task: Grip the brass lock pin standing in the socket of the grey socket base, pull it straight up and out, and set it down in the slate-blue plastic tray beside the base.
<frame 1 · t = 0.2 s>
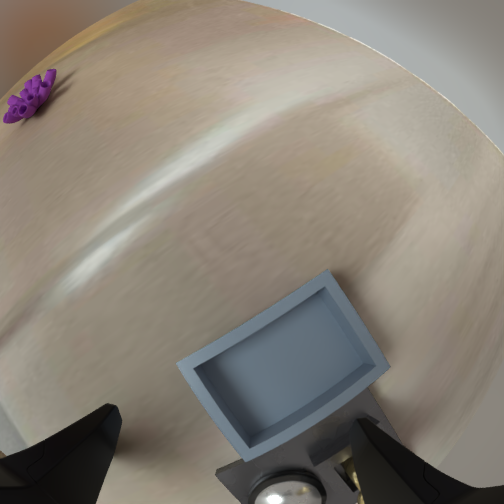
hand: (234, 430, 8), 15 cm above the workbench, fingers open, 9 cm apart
lock pin: (355, 457, 18), point 1 cm above the workbench, touching grey socket base
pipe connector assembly: (38, 108, 35), on the workbench
grey socket base: (321, 472, 19), on the workbench
pin tray: (283, 366, 22), on the workbench
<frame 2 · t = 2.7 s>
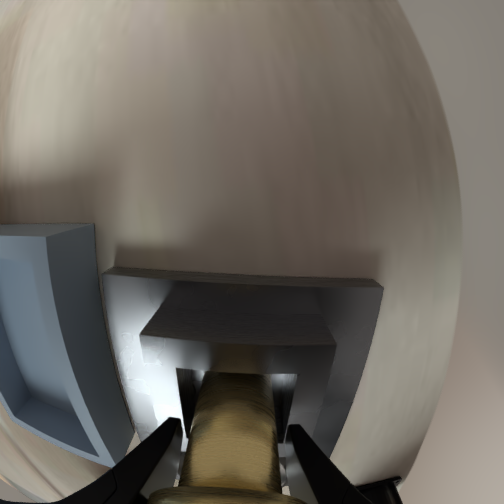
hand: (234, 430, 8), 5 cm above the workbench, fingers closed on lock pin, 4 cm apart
lock pin: (237, 376, 11), point 1 cm above the workbench, touching gripper, grey socket base
grey socket base: (237, 409, 13), on the workbench
pin tray: (47, 337, 12), on the workbench
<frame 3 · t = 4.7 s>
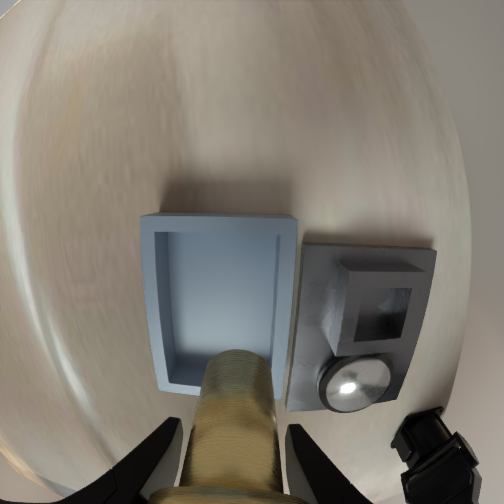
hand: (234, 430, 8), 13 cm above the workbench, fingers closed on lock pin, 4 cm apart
lock pin: (238, 376, 11), point 10 cm above the workbench, touching gripper
grey socket base: (359, 334, 22), on the workbench
pin tray: (221, 301, 21), on the workbench
when the fingers open (6 cm above the workbench, at t = 6.9 s): lock pin drops 1 cm, resting on pin tray.
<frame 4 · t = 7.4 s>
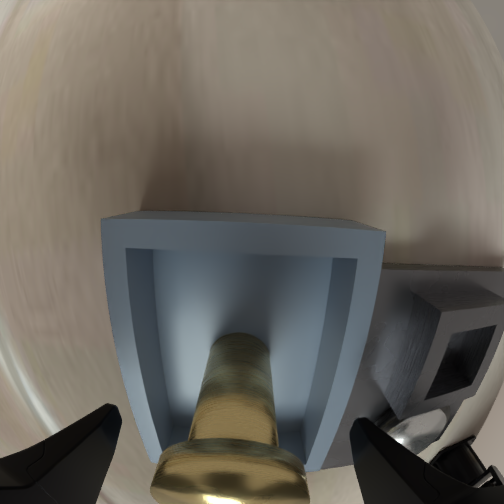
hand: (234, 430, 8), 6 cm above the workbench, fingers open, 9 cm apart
lock pin: (239, 358, 13), point 1 cm above the workbench, touching pin tray
grey socket base: (416, 378, 14), on the workbench
pin tray: (238, 350, 14), on the workbench
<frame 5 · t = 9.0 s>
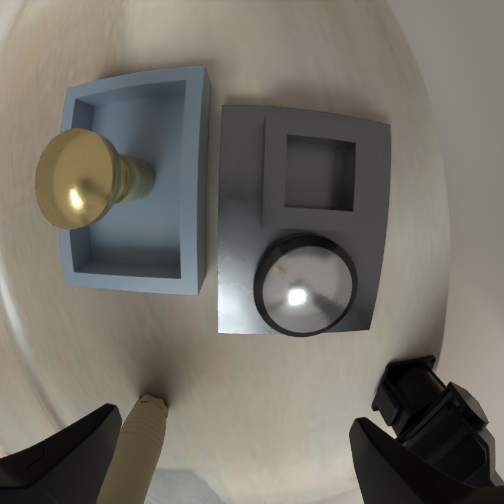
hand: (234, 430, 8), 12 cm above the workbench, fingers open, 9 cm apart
lock pin: (135, 179, 17), point 1 cm above the workbench, touching pin tray
handle: (154, 402, 23), on the workbench
grey socket base: (305, 224, 19), on the workbench
pin tray: (138, 180, 18), on the workbench
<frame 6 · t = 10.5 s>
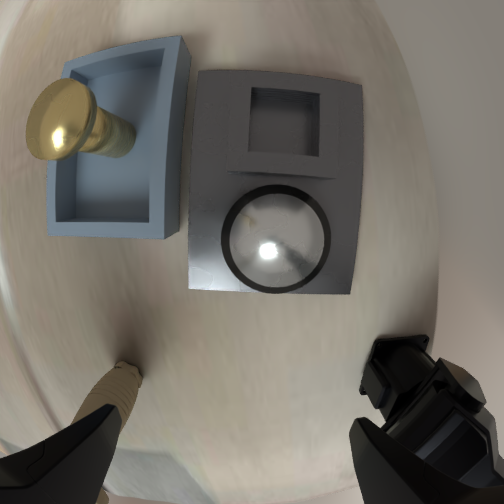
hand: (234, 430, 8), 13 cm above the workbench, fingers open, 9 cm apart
lock pin: (118, 139, 17), point 1 cm above the workbench, touching pin tray
handle: (129, 371, 23), on the workbench
grey socket base: (277, 179, 19), on the workbench
pin tray: (122, 141, 18), on the workbench
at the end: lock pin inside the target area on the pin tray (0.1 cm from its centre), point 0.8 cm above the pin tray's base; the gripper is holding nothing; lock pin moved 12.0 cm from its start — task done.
